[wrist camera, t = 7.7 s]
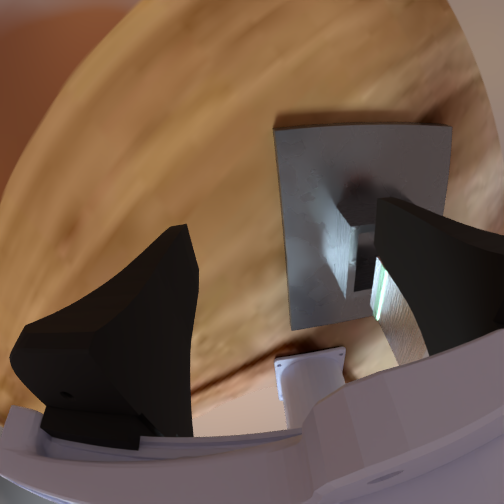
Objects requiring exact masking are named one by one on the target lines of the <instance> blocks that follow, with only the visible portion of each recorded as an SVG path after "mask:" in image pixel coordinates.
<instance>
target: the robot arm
mask: <svg viewBox="0 0 504 504" xmlns="http://www.w3.org/2000/svg"><path fill="white" fill-rule="evenodd" d="M374 246H375V248H376V250H377V253H378V255H379V257H380V259H381V261H382V263H383V265H384V267H385V268H386V270H387V271H388V273H389V274H390V276H391V278H392V279H393V281H394V282H395V284H396V286H397V287H398V289H399V290H400V292H401V293H402V295H403V297H404V298H405V300H406V302H407V303H408V305H409V307H410V309H411V311H412V313H413V315H414V317H415V319H416V322H417V324H418V327H419V329H420V331H421V334H422V337H423V339H424V342H425V345H426V348H427V351H428V354H429V357H426V358H423V359H420V360H417V361H413V362H410V363H407V364H404V365H400V366H397V367H393V368H390V369H386V370H383V371H379V372H376V373H374V374H371V375H369V376H366V377H363V378H361V379H358V380H355V381H353V382H350V383H347V384H345V381H344V378H343V374H342V370H343V365H344V359H345V353H346V349H345V347H337V348H332V349H327V350H322V351H317V352H311V353H305V354H299V355H293V356H287V357H281V358H276V359H275V360H274V365H275V372H276V380H277V388H278V395H279V400H281V401H283V403H284V410H285V416H286V423H287V430H281V431H272V432H264V433H255V434H246V435H234V436H233V435H232V436H216V437H194V436H193V426H192V412H191V392H190V349H191V338H192V332H193V325H194V318H195V312H196V305H197V299H198V292H199V268H198V264H197V261H196V257H195V253H194V250H193V246H192V242H191V239H190V235H189V231H188V227H187V224H183V225H177V226H171V227H169V228H168V229H167V230H166V231H164V232H163V233H162V234H161V235H160V236H159V237H158V238H157V239H156V240H155V241H154V242H153V243H152V244H151V245H150V246H149V247H148V248H146V249H145V250H144V251H143V252H142V253H141V254H140V255H139V256H138V257H137V258H136V259H134V260H133V261H132V262H131V263H130V264H129V265H128V266H127V267H125V268H124V269H123V270H122V271H121V272H119V273H118V274H117V275H116V276H114V277H113V278H112V279H110V280H109V281H108V282H106V283H105V284H103V285H102V286H100V287H99V288H97V289H96V290H94V291H93V292H91V293H89V294H88V295H86V296H85V297H83V298H82V299H80V300H78V301H76V302H75V303H73V304H71V305H69V306H67V307H65V308H63V309H61V310H59V311H57V312H55V313H53V314H51V315H49V316H46V317H44V318H42V319H39V320H37V321H35V322H33V323H30V324H27V325H26V326H25V327H24V328H23V330H22V332H21V334H20V336H19V338H18V339H17V341H16V343H15V345H14V347H13V349H12V351H11V354H10V357H9V358H10V363H11V366H12V368H13V370H14V372H15V374H16V375H17V377H18V378H19V379H20V380H21V381H22V382H23V384H24V385H25V386H26V387H27V388H28V389H29V390H30V391H31V392H32V393H33V394H34V395H35V396H36V397H37V398H38V399H39V400H40V401H41V402H43V403H44V404H45V405H46V409H45V412H44V415H43V414H42V413H40V412H38V411H36V410H33V409H29V408H24V407H20V406H16V405H12V406H11V408H10V411H9V414H8V417H7V420H6V423H5V426H4V429H3V432H2V435H1V438H0V475H1V476H2V477H4V478H5V479H7V480H9V481H11V482H13V483H14V484H16V485H18V486H20V487H22V488H24V489H26V490H28V491H30V492H32V493H34V494H36V495H38V496H40V497H42V498H45V499H47V500H50V501H52V502H55V503H58V504H504V235H499V234H495V233H491V232H487V231H484V230H480V229H477V228H474V227H471V226H468V225H465V224H462V223H459V222H456V221H454V220H451V219H449V218H446V217H444V216H441V215H439V214H436V213H434V212H431V211H429V210H427V209H424V208H422V207H419V206H417V205H415V204H412V203H409V202H407V201H404V200H401V199H398V198H394V197H385V198H377V209H376V223H375V234H374Z"/></svg>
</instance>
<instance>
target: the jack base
mask: <svg viewBox="0 0 504 504" xmlns="http://www.w3.org/2000/svg"><path fill="white" fill-rule="evenodd" d="M273 136H274V145H275V154H276V163H277V173H278V182H279V193H280V203H281V214H282V225H283V236H284V248H285V260H286V273H287V286H288V300H289V315H290V326H291V330H292V331H294V330H300V329H306V328H312V327H317V326H323V325H328V324H334V323H339V322H344V321H349V320H354V319H359V318H364V317H369V316H373V310H372V308H371V306H370V300H371V294H372V287H373V281H374V274H375V266H376V259H377V256H379V255H378V253H377V250H376V248H375V246H374V234H375V223H376V209H377V198H385V197H394V198H398V199H401V200H404V201H407V202H409V203H412V204H415V205H417V206H419V207H422V208H424V209H427V210H429V211H431V212H434V213H436V214H439V215H441V216H443V211H444V205H445V198H446V191H447V184H448V175H449V166H450V155H451V142H452V127H451V126H449V125H446V124H434V123H411V122H357V123H333V124H316V125H303V126H292V127H282V128H273Z"/></svg>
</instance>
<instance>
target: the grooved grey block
mask: <svg viewBox="0 0 504 504" xmlns="http://www.w3.org/2000/svg"><path fill="white" fill-rule="evenodd" d="M370 306H371V308H372V310H373V316H374V318H375V320H378V322H379V324H380V326H381V328H382V330H383V332H384V334H385V336H386V338H387V340H388V343H389V345H390V347H391V349H392V351H393V353H394V355H395V358H396V360H397V362H398V364H399V366H400V365H404V364H407V363H410V362H413V361H417V360H420V359H423V358H426V357H429V354H428V351H427V348H426V345H425V342H424V339H423V337H422V334H421V331H420V329H419V327H418V324H417V322H416V319H415V317H414V315H413V313H412V311H411V309H410V307H409V305H408V303H407V302H406V300H405V298H404V297H403V295H402V293H401V292H400V290H399V289H398V287H397V286H396V284H395V282H394V281H393V279H392V278H391V276H390V274H389V273H388V271H387V270H386V268H385V267H384V265H383V263H382V261H381V259H380V257H379V256H377V259H376V266H375V274H374V281H373V287H372V294H371V300H370Z"/></svg>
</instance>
